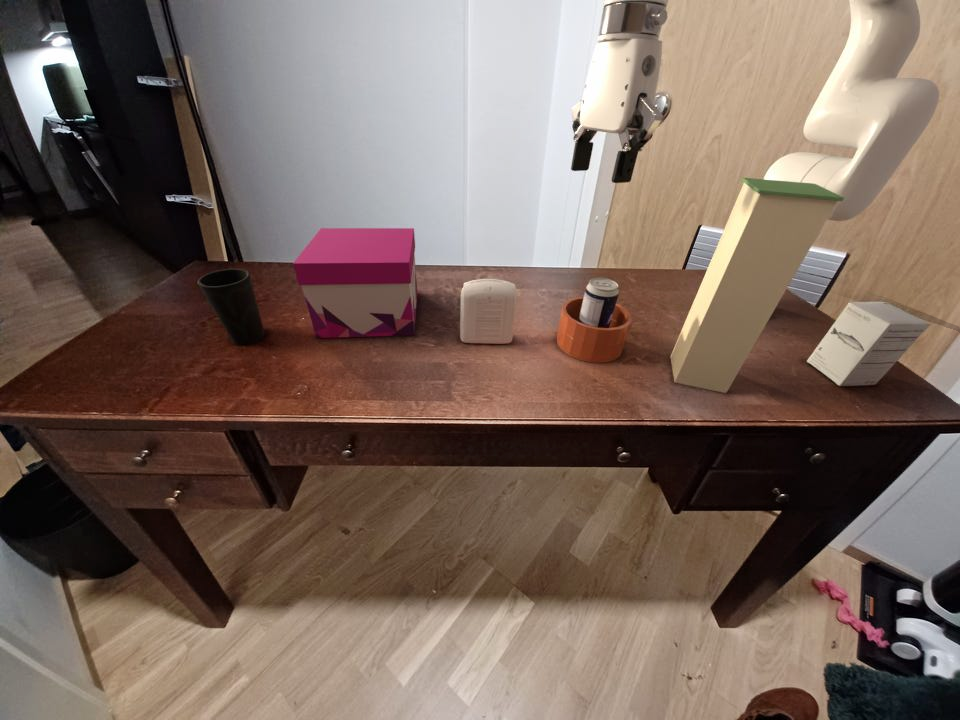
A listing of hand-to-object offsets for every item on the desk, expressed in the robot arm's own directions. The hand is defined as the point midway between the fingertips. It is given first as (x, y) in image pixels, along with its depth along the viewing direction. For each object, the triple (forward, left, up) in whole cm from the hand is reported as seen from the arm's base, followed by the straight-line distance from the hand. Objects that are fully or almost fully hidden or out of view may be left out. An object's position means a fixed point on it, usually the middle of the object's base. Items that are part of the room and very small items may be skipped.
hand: (598, 175), depth 57 cm
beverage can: (-3, +4, -28) cm, 29 cm away
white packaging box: (-43, +23, -29) cm, 57 cm away
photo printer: (+16, -2, -29) cm, 33 cm away
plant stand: (-17, +17, -29) cm, 38 cm away
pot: (-3, +4, -29) cm, 29 cm away
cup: (+60, -13, -29) cm, 68 cm away
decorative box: (+37, -17, -29) cm, 50 cm away
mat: (-17, +17, +1) cm, 24 cm away
